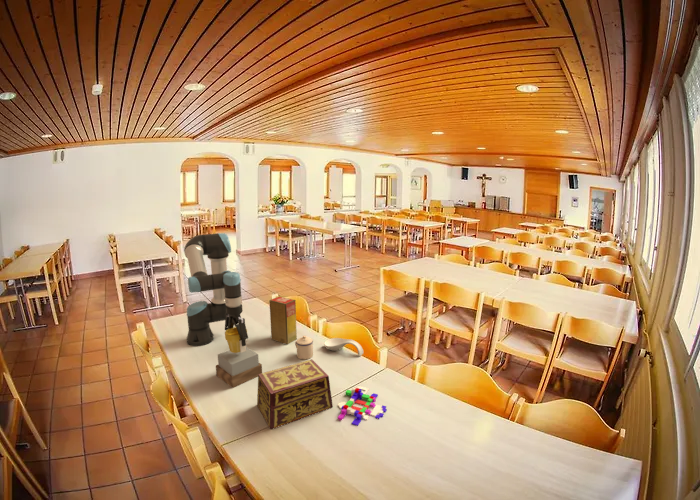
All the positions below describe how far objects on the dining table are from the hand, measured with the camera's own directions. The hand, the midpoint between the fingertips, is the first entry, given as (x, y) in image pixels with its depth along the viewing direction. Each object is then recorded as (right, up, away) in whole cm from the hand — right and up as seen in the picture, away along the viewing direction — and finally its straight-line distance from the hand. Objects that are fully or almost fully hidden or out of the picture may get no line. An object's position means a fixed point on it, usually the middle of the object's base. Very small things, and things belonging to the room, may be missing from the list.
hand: (237, 348), depth 180 cm
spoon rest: (+51, -9, +29) cm, 59 cm away
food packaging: (+15, -6, +43) cm, 46 cm away
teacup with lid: (+29, -10, +23) cm, 39 cm away
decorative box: (+31, -20, -21) cm, 42 cm away
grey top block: (0, -9, +2) cm, 9 cm away
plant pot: (0, -1, 0) cm, 1 cm away
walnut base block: (0, -15, +4) cm, 16 cm away
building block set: (+60, -20, -21) cm, 67 cm away
